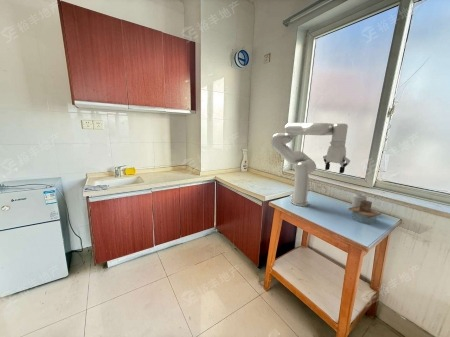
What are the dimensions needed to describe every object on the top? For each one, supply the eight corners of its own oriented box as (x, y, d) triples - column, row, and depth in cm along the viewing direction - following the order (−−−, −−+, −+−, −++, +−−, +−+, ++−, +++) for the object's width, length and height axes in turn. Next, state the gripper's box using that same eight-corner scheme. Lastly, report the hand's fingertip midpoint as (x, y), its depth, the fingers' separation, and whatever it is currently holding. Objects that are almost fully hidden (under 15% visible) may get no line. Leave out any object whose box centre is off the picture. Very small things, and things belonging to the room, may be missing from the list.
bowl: (348, 217, 119) (349, 209, 118) (359, 214, 124) (360, 207, 123) (367, 225, 110) (368, 217, 109) (378, 221, 114) (379, 214, 113)
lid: (348, 209, 119) (350, 199, 117) (360, 206, 124) (361, 196, 122) (369, 217, 108) (371, 206, 107) (381, 214, 113) (383, 203, 111)
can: (348, 209, 131) (351, 192, 129) (354, 207, 135) (357, 191, 132) (360, 213, 125) (363, 196, 122) (366, 211, 128) (369, 194, 126)
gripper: (321, 143, 122) (318, 169, 125) (348, 145, 106) (343, 175, 110) (329, 142, 125) (325, 168, 128) (356, 145, 109) (351, 174, 113)
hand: (334, 171), depth 119 cm, fingers open, 9 cm apart
